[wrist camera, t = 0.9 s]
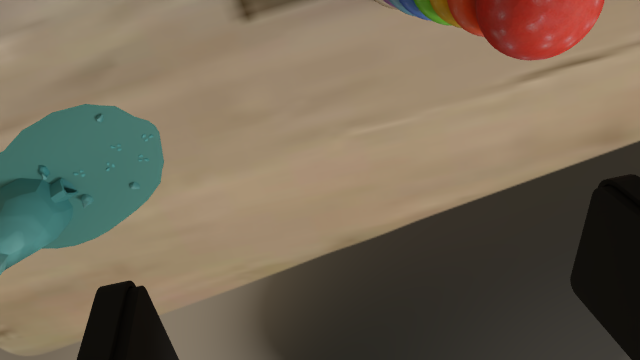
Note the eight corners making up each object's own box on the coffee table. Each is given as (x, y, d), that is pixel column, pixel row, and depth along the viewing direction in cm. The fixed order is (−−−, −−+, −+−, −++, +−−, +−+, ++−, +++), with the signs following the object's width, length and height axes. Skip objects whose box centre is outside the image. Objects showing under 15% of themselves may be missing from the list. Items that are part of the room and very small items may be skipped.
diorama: (217, 166, 40) (218, 226, 33) (42, 278, 43) (8, 356, 36) (113, 50, 34) (86, 95, 27) (-86, 192, 37) (-158, 267, 30)
